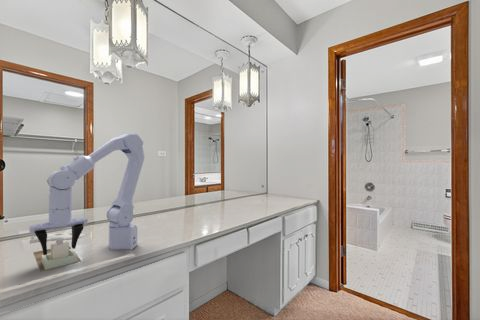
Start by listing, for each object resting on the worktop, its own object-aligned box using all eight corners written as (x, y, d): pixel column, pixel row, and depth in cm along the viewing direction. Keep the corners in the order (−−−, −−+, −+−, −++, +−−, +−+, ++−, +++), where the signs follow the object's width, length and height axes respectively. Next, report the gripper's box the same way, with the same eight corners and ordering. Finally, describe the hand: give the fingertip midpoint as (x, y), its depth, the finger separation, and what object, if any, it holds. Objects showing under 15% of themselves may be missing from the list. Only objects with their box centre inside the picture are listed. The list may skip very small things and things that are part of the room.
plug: (68, 260, 74) (68, 240, 74) (52, 264, 71) (52, 243, 71) (66, 256, 77) (66, 237, 77) (50, 260, 74) (50, 240, 74)
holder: (77, 261, 74) (77, 255, 74) (45, 269, 68) (45, 263, 68) (72, 254, 79) (72, 248, 79) (41, 261, 73) (41, 255, 73)
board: (81, 264, 74) (81, 261, 74) (40, 275, 67) (40, 271, 67) (68, 247, 88) (68, 245, 88) (33, 255, 80) (33, 252, 80)
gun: (29, 239, 86) (31, 233, 94) (28, 249, 86) (31, 241, 94) (87, 233, 98) (85, 228, 106) (86, 241, 97) (84, 235, 105)
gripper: (84, 203, 82) (83, 242, 82) (28, 209, 71) (27, 253, 71) (89, 206, 77) (88, 247, 77) (30, 213, 66) (30, 260, 66)
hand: (59, 250), depth 73 cm, fingers open, 7 cm apart
